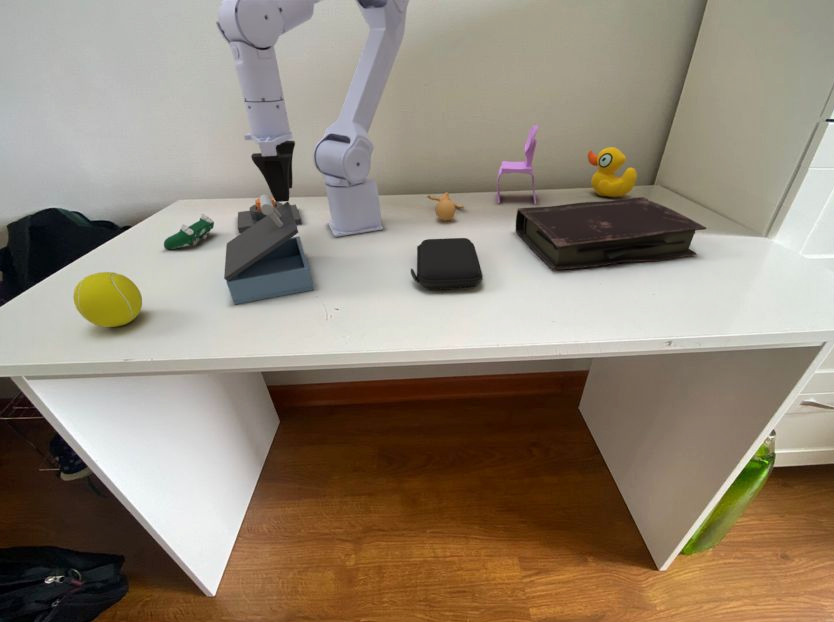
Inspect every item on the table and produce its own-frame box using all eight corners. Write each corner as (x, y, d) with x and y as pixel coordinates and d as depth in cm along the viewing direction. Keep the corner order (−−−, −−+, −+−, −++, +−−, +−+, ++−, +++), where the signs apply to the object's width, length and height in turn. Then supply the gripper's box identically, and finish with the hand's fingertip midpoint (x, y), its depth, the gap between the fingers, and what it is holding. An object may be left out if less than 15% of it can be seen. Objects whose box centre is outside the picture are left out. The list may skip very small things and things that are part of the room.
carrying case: (411, 253, 73) (410, 295, 61) (410, 236, 71) (409, 276, 59) (473, 250, 73) (483, 292, 61) (473, 234, 71) (484, 273, 59)
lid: (290, 204, 67) (271, 180, 64) (298, 232, 57) (276, 205, 54) (229, 246, 68) (207, 224, 65) (227, 281, 58) (201, 257, 55)
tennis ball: (86, 342, 53) (54, 293, 49) (97, 315, 58) (69, 269, 54) (148, 328, 55) (123, 281, 51) (153, 304, 60) (131, 259, 56)
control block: (296, 209, 93) (293, 196, 91) (301, 224, 85) (298, 209, 83) (239, 217, 89) (235, 203, 88) (239, 233, 82) (234, 218, 80)
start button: (275, 204, 87) (273, 196, 86) (276, 209, 85) (274, 201, 84) (257, 207, 86) (254, 198, 85) (257, 212, 84) (255, 203, 83)
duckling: (576, 194, 97) (584, 147, 91) (585, 188, 100) (594, 142, 94) (626, 203, 91) (638, 153, 85) (634, 196, 94) (647, 148, 88)
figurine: (427, 200, 80) (433, 171, 88) (419, 226, 85) (425, 196, 92) (468, 213, 81) (470, 183, 89) (458, 238, 86) (461, 207, 94)
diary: (513, 231, 79) (516, 205, 76) (634, 219, 83) (641, 193, 80) (554, 275, 65) (559, 244, 62) (699, 258, 68) (710, 228, 65)
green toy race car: (178, 260, 77) (190, 240, 73) (159, 245, 75) (171, 224, 72) (209, 241, 84) (221, 221, 80) (193, 227, 83) (204, 207, 79)
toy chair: (496, 193, 98) (501, 122, 89) (534, 194, 97) (543, 122, 88) (495, 205, 92) (500, 129, 83) (536, 206, 91) (545, 129, 82)
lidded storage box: (303, 256, 73) (299, 236, 71) (313, 290, 63) (308, 268, 61) (235, 267, 70) (228, 246, 68) (234, 304, 60) (226, 282, 58)
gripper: (243, 96, 67) (264, 184, 75) (226, 106, 56) (253, 209, 64) (288, 95, 68) (304, 182, 76) (281, 104, 57) (301, 205, 65)
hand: (284, 194), depth 70 cm, fingers open, 7 cm apart
